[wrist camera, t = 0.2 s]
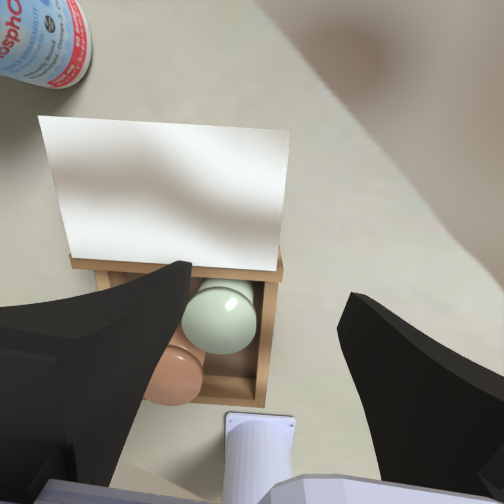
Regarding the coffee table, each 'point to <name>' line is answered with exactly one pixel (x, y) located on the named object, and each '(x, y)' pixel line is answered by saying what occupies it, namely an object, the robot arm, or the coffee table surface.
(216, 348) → the mint green knob
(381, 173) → the coffee table surface
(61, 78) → the pill bottle
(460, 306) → the coffee table surface
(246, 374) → the cold frame
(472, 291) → the coffee table surface
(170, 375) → the peach rounded knob
